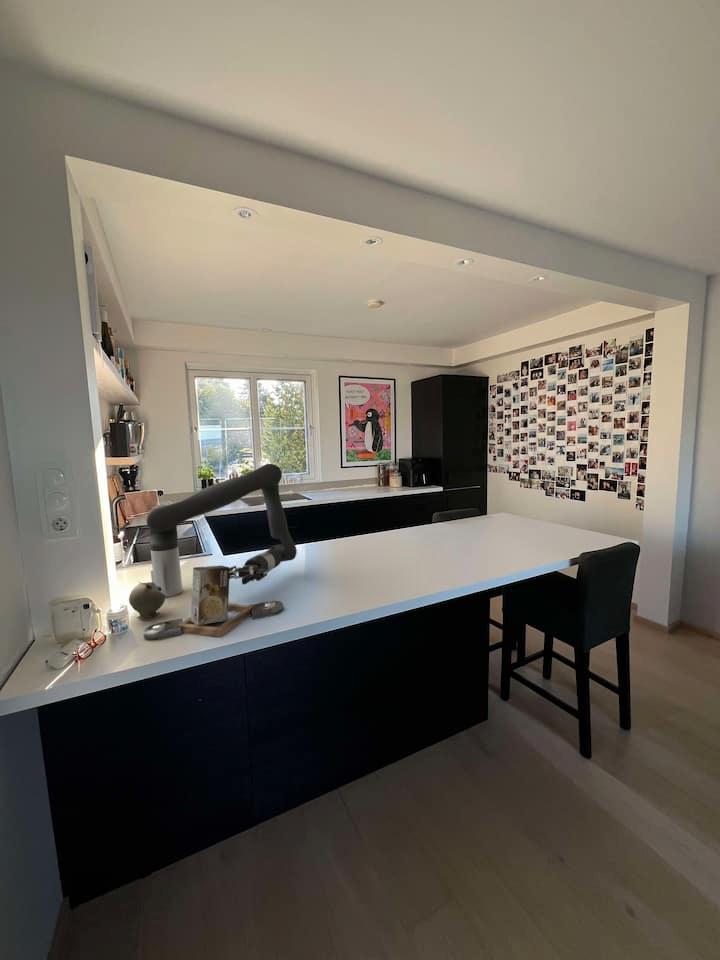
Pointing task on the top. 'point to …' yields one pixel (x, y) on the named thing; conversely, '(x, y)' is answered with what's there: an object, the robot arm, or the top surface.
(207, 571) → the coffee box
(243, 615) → the wooden picture frame
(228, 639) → the top surface
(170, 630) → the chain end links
